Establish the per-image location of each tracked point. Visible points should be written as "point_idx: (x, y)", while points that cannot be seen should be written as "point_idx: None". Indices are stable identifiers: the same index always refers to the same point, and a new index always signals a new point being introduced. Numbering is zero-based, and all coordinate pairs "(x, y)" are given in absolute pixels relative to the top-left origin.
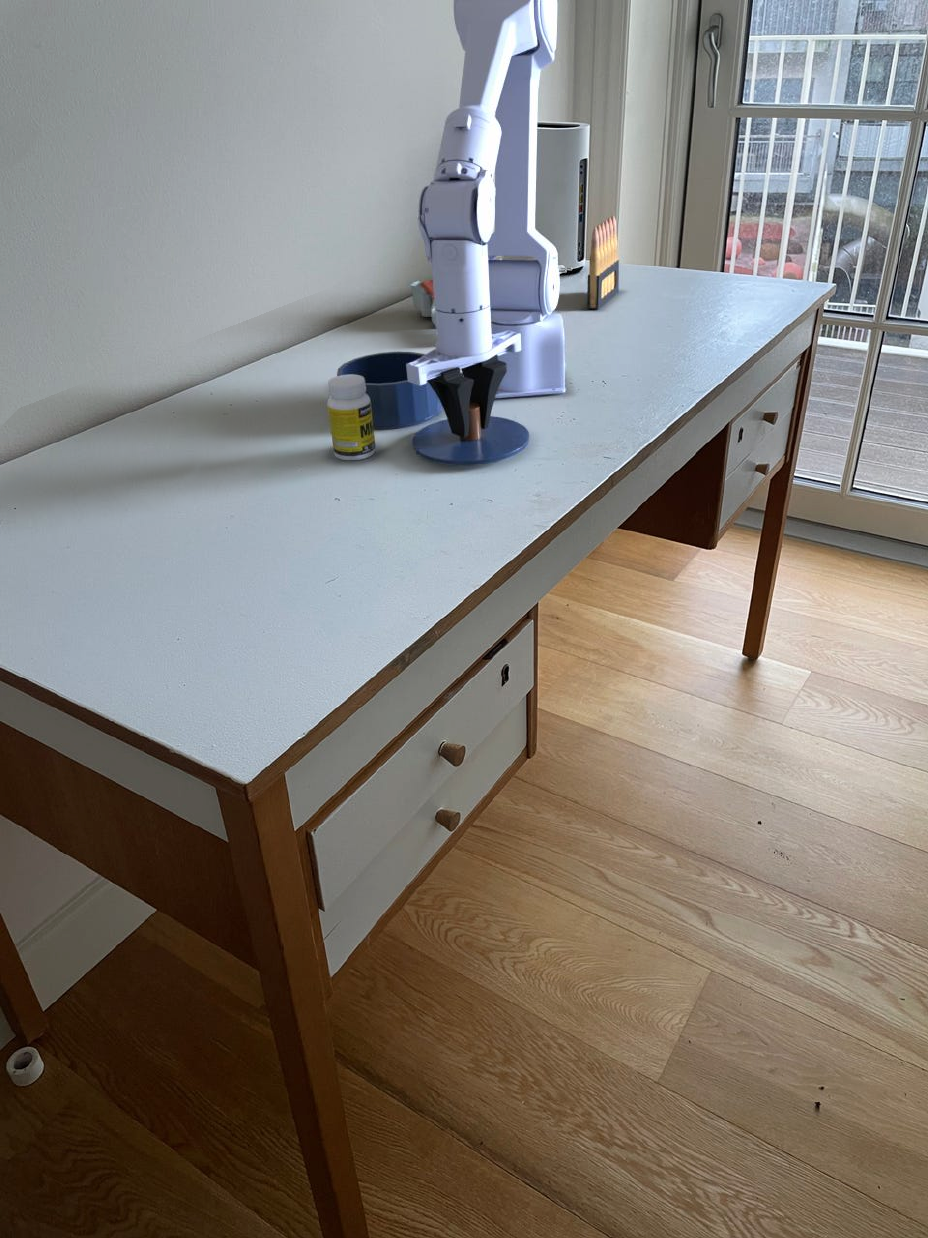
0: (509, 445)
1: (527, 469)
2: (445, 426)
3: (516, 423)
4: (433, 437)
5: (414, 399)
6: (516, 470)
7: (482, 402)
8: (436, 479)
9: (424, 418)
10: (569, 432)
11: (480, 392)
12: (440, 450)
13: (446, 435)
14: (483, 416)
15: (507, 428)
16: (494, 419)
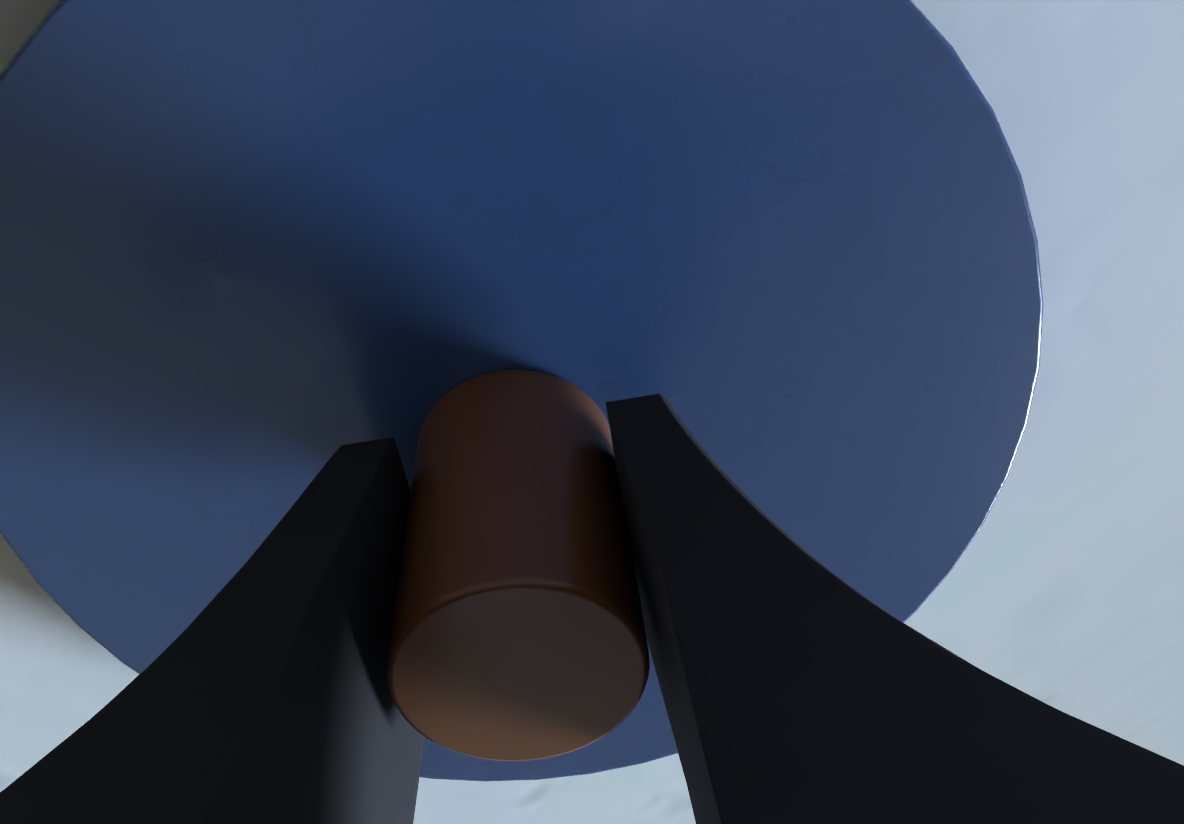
0: (652, 705)
1: (594, 812)
2: (451, 66)
3: (996, 443)
4: (202, 251)
5: None
6: (538, 798)
7: (679, 725)
8: (40, 686)
9: None
10: (1177, 587)
11: (698, 811)
12: (154, 531)
13: (343, 294)
14: (646, 624)
15: (864, 483)
16: (954, 245)
